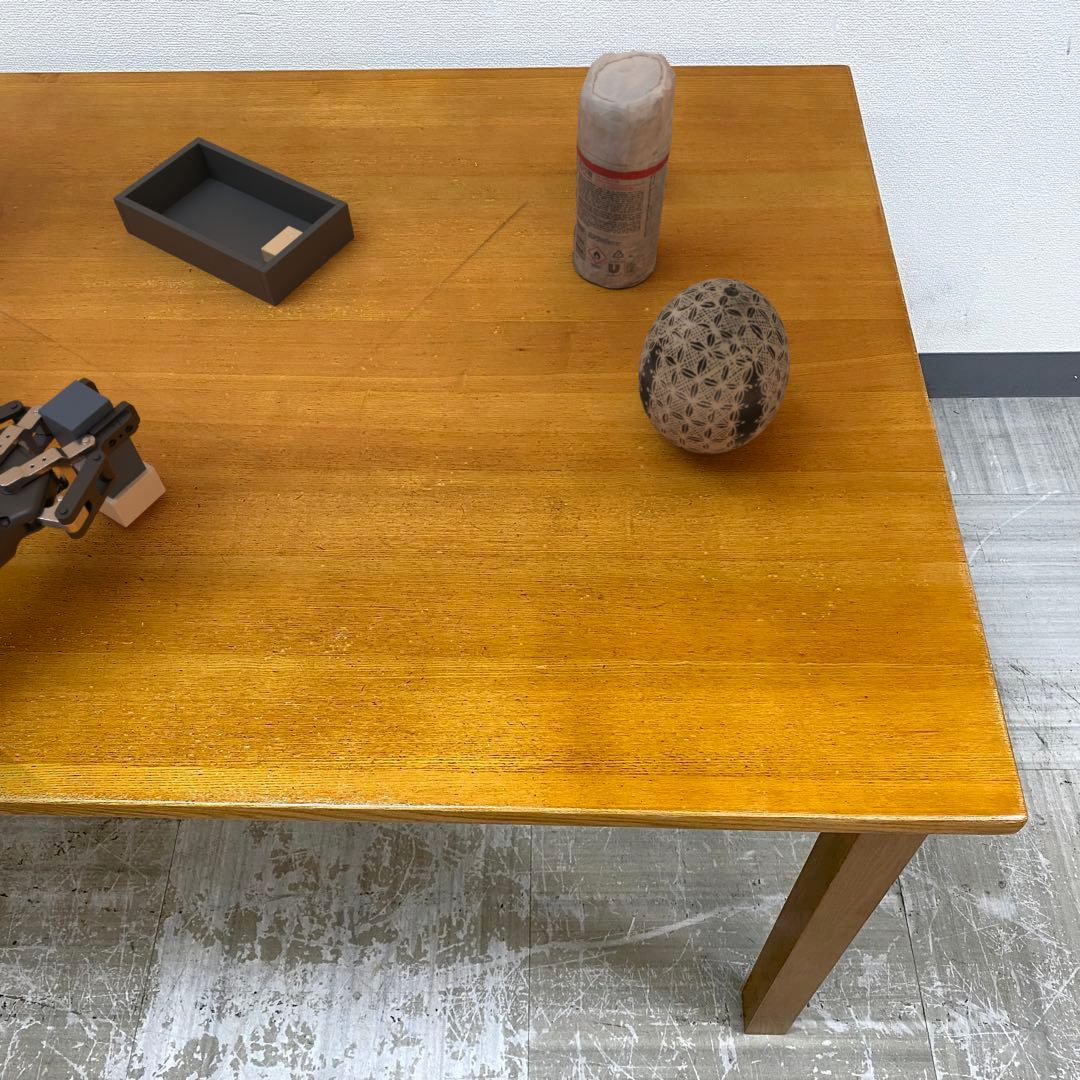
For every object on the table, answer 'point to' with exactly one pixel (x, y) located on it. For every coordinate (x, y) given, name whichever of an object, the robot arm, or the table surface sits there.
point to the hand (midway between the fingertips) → (112, 399)
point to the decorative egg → (714, 366)
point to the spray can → (622, 166)
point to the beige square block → (279, 242)
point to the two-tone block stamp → (135, 477)
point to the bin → (235, 219)
